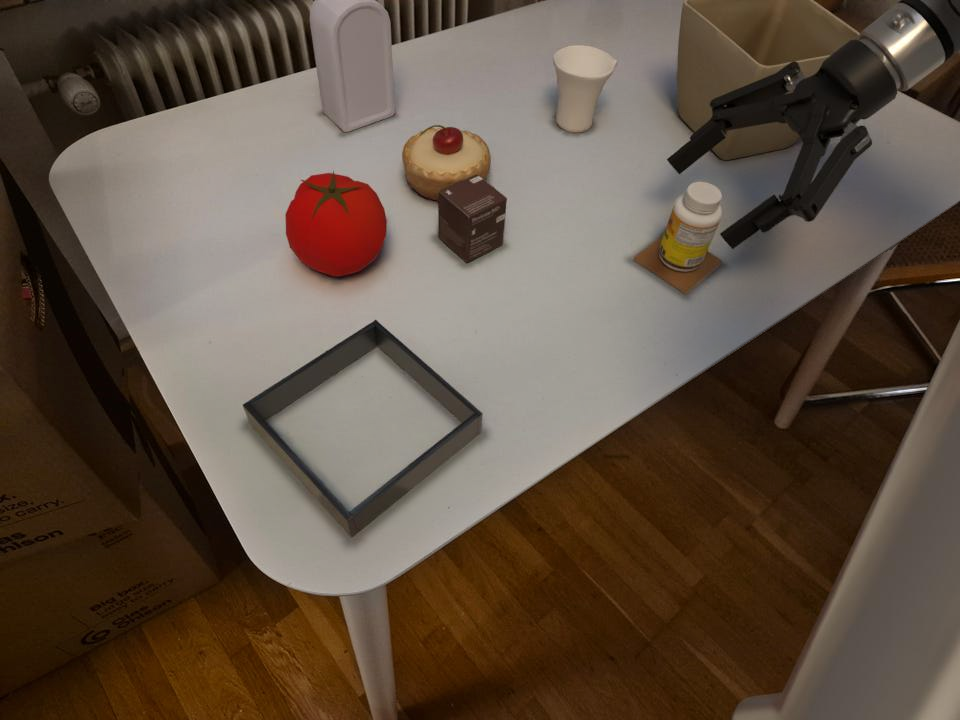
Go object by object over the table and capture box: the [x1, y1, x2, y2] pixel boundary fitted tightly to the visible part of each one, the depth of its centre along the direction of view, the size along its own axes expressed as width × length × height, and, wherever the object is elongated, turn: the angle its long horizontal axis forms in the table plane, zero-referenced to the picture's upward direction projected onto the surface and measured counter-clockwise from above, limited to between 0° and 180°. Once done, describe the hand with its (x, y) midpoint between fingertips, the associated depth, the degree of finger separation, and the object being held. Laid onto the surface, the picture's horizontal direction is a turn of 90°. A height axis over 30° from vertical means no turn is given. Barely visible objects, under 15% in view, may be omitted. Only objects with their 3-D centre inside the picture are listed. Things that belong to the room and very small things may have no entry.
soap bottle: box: [309, 0, 396, 133], centre depth 91 cm, size 9×7×23 cm
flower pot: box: [676, 0, 860, 161], centre depth 96 cm, size 19×19×17 cm
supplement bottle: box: [659, 181, 723, 272], centre depth 79 cm, size 6×6×10 cm
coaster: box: [632, 235, 724, 295], centre depth 84 cm, size 8×8×1 cm
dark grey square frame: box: [242, 319, 484, 538], centre depth 65 cm, size 16×16×4 cm
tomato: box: [285, 170, 388, 277], centre depth 77 cm, size 12×12×11 cm
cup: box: [552, 44, 619, 134], centre depth 98 cm, size 9×9×10 cm
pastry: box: [401, 124, 492, 201], centre depth 88 cm, size 12×12×9 cm
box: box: [437, 175, 508, 263], centre depth 81 cm, size 6×6×7 cm
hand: (697, 202), depth 76 cm, fingers open, 13 cm apart
